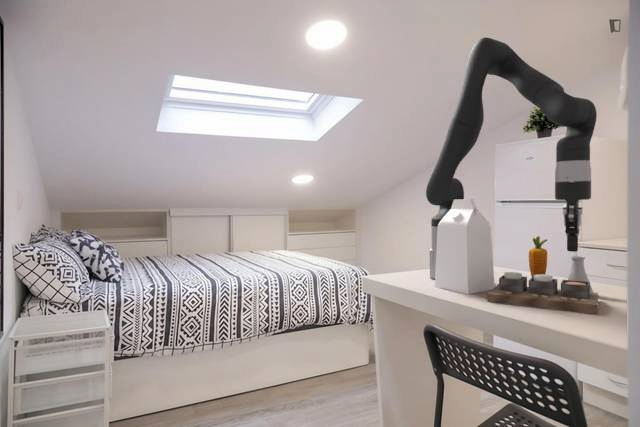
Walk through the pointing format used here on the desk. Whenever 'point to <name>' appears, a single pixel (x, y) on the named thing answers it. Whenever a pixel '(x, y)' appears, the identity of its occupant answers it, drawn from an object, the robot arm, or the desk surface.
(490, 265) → the milk
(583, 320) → the desk surface
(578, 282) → the terracotta button
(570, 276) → the flask
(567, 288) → the button board
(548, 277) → the grey button
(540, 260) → the carrot
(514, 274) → the sage button
